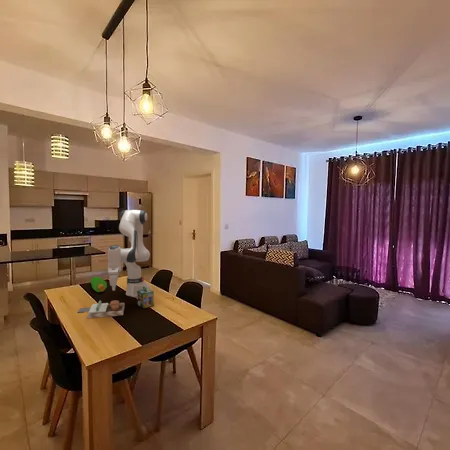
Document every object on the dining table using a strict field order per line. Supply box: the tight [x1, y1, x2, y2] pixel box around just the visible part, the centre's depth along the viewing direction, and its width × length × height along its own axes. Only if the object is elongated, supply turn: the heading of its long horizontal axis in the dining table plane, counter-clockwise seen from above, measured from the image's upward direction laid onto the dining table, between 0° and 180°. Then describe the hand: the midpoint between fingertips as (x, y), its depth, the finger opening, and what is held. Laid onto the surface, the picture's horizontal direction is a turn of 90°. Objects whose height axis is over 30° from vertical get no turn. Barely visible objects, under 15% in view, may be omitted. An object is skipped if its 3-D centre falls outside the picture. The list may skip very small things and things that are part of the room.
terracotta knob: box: [109, 300, 120, 311], centre depth 188 cm, size 6×6×7 cm
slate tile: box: [77, 306, 91, 314], centre depth 189 cm, size 7×7×1 cm
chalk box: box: [137, 287, 155, 309], centre depth 201 cm, size 9×9×15 cm
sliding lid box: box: [87, 302, 125, 319], centre depth 186 cm, size 22×15×4 cm
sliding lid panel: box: [88, 300, 109, 313], centre depth 185 cm, size 10×15×3 cm
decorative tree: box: [90, 276, 108, 293], centre depth 234 cm, size 11×12×30 cm
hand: (114, 288), depth 186 cm, fingers open, 8 cm apart
